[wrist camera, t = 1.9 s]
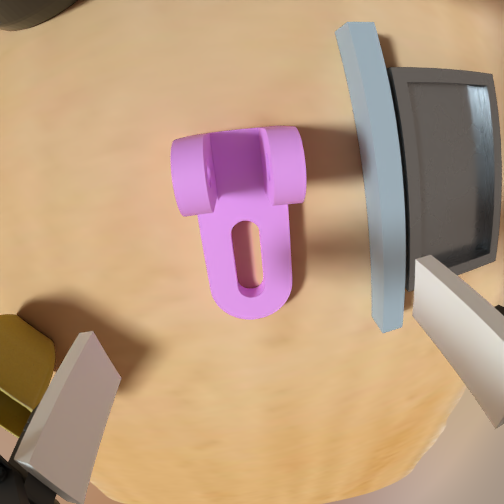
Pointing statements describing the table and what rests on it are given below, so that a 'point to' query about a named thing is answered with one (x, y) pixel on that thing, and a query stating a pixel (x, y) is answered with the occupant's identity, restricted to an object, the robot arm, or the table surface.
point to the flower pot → (22, 371)
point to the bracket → (242, 206)
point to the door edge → (378, 168)
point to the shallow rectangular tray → (448, 165)
